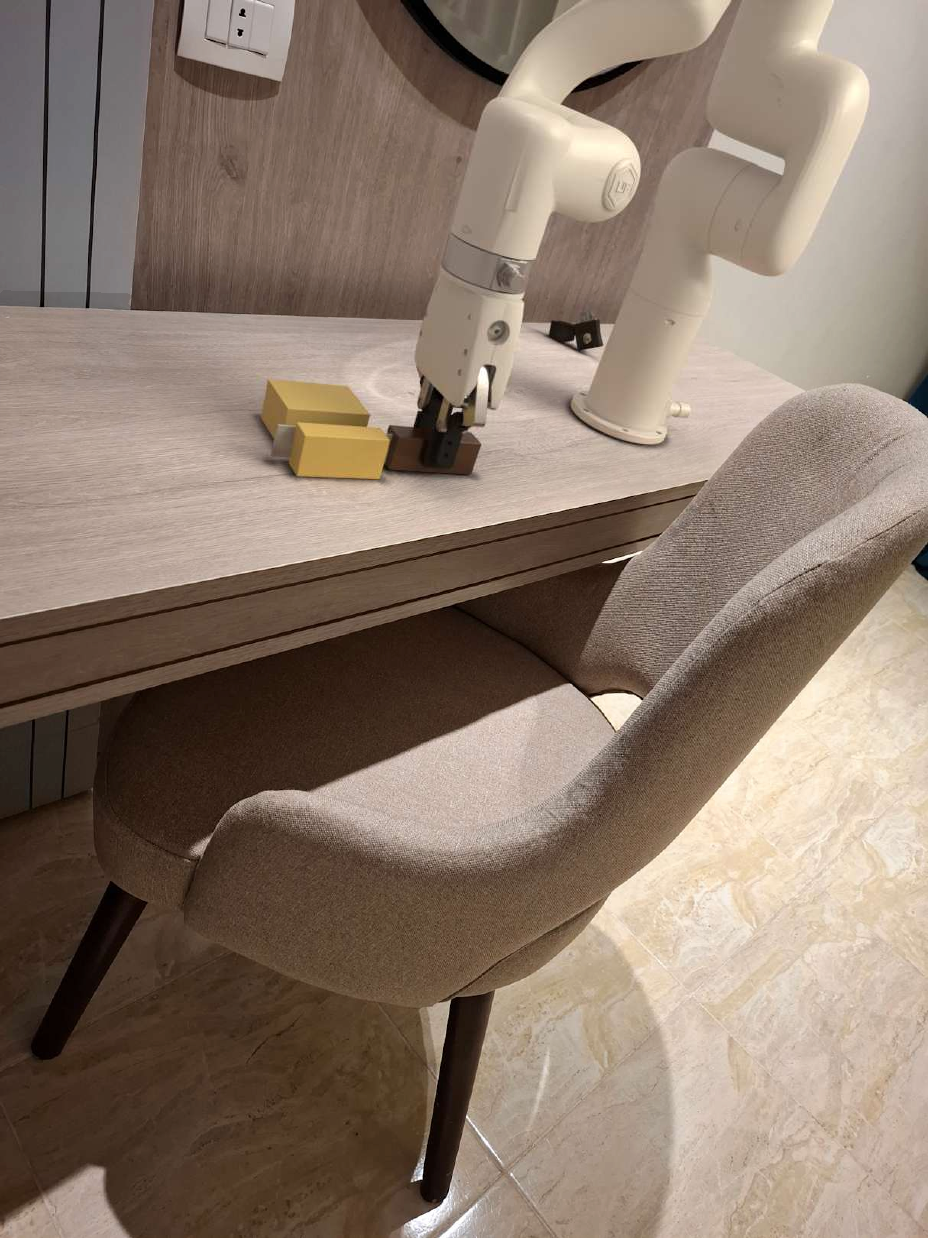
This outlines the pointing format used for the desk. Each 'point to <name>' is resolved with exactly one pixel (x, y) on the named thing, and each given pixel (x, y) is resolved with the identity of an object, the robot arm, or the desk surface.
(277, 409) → the butter block
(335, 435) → the butter slice
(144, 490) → the desk surface
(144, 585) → the desk surface
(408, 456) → the knife
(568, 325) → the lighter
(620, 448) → the desk surface
